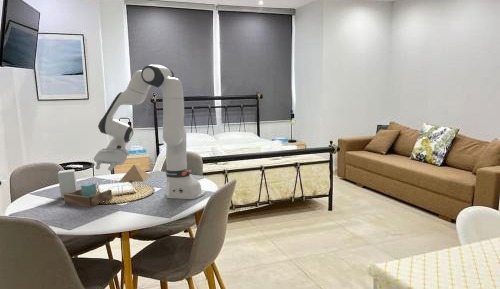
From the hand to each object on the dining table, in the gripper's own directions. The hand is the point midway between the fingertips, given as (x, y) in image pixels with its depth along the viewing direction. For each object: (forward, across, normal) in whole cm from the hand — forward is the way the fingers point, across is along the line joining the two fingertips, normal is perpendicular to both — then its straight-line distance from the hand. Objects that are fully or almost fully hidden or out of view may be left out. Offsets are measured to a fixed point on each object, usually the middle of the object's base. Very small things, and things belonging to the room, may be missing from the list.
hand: (103, 169), depth 200 cm
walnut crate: (+19, 0, +2) cm, 19 cm away
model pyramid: (-14, -11, +36) cm, 41 cm away
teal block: (+18, 0, +3) cm, 19 cm away
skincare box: (+17, -18, +4) cm, 25 cm away
